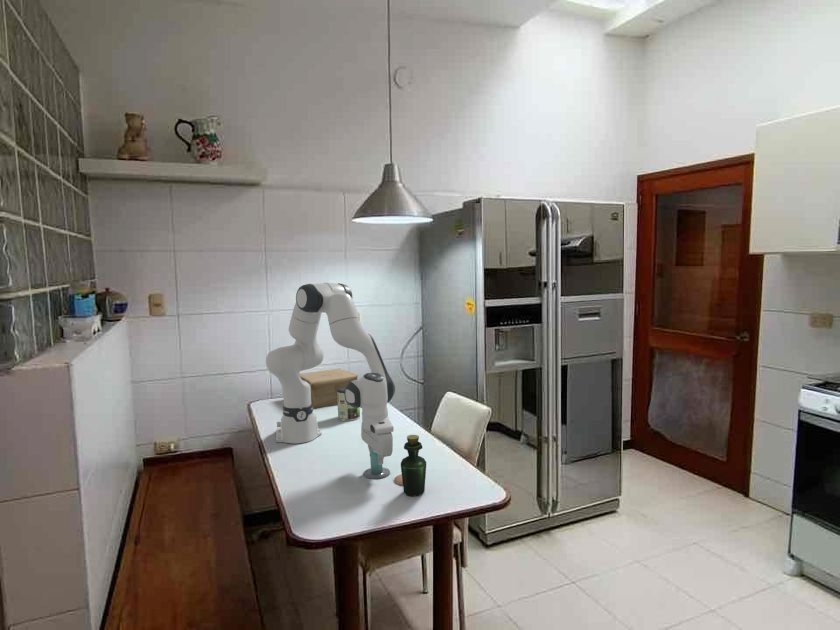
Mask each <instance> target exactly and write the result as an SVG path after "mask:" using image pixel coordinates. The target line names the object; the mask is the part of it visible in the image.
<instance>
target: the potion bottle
mask: <svg viewBox="0 0 840 630" xmlns="http://www.w3.org/2000/svg"><path fill="white" fill-rule="evenodd" d="M419 438H420V436H419V435H417V434H409V435H407V436H406V440H407V442H406V441H405V443H404V445H403V449H404V450H406V451H407V456H406V457H404V458H402V460H401V462H400V470H401V473H400V474H402V481H403V486H402V488H403V489H402V490H403V493H404V494H405V496H408V497H419V496H422V495H423V494H424V493H425V489H426V486H425V485H426V476H427V475H426V474H427V461H426V459H425V458H424V457H422V456H420V455H419V451H420V450H422V449H423V445H422V443H421V442H420V441H419V440H420V439H419Z"/></svg>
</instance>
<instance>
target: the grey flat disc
mask: <svg viewBox="0 0 840 630" xmlns="http://www.w3.org/2000/svg"><path fill="white" fill-rule="evenodd" d="M382 467H383V466H382ZM390 475H391V470H390V469H389V468H387V467H383V472H382V473H381V474H372V473H371V467H370V468H368V469H366V470H364V472H363V476H364V478H367V479H371V480H378V479H379V480H381V479H385V478H387V477H388V476H390Z"/></svg>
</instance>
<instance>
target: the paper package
mask: <svg viewBox="0 0 840 630" xmlns="http://www.w3.org/2000/svg"><path fill="white" fill-rule="evenodd" d="M358 376H359V375H358V374H356V373H353V372H350V371H348V370H345V369H342V368H334V369H326V370H325V369H324V370H319V371H313V372H311V371H310V372H304V373H300V377H301V379H302V380H304V381H306V382H307V383H309V385H310V387H311V403H312V405H313V409H317V408H322V407H327V406H333V405H338V400H337V388H338V387H342V386H347V384H348V383H349V382H351V381H354V380H357V379H358Z"/></svg>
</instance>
